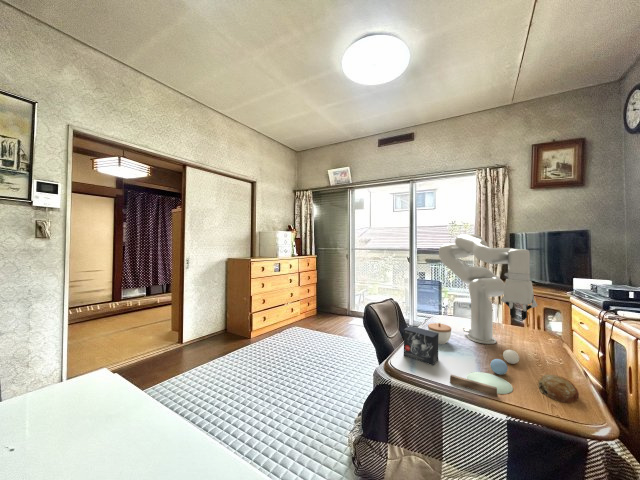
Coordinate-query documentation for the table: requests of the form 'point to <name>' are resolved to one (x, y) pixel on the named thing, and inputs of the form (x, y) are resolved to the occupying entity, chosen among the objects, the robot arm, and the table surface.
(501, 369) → the blue ball
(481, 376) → the mint mark
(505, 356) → the cue ball
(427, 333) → the small box
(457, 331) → the table surface
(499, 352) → the table surface
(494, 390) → the walnut rail
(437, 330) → the lidded jar
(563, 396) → the bread roll
